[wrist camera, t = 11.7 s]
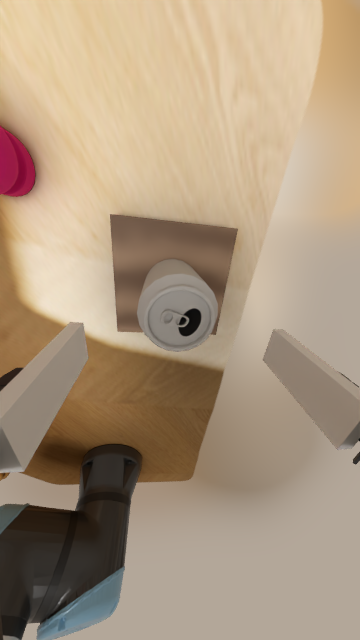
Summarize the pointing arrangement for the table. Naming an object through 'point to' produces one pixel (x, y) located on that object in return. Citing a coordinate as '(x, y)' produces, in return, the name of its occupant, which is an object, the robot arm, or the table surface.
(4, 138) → the pepper mill
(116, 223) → the walnut plinth
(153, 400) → the table surface
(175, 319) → the can
